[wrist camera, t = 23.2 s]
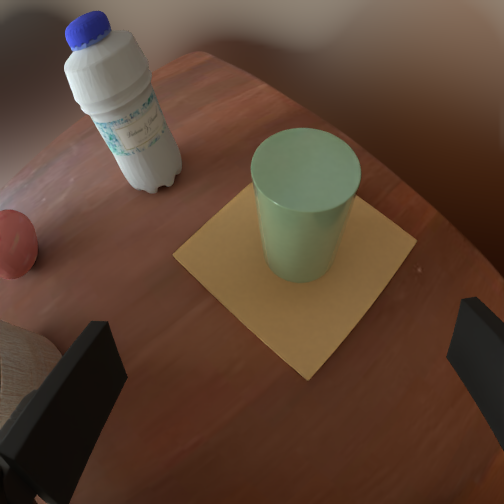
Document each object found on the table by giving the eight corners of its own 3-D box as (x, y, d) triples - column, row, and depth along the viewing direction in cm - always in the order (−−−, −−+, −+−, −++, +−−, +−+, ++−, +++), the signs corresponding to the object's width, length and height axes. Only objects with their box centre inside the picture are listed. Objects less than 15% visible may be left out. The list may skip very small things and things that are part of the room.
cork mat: (173, 256, 29) (171, 254, 28) (288, 153, 33) (288, 150, 32) (307, 381, 23) (308, 380, 23) (415, 243, 27) (417, 240, 27)
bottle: (151, 211, 31) (53, 45, 13) (120, 180, 34) (34, 37, 16) (200, 170, 33) (141, -5, 15) (164, 144, 35) (104, -5, 17)
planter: (-2, 348, 26) (-63, 325, 17) (62, 322, 27) (-4, 289, 18) (16, 442, 22) (-50, 440, 13) (88, 430, 22) (15, 433, 14)
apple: (5, 293, 29) (-41, 267, 22) (12, 239, 32) (-27, 208, 25) (47, 283, 29) (-1, 252, 22) (53, 225, 32) (13, 187, 25)
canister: (247, 251, 28) (227, 169, 18) (295, 204, 30) (297, 114, 20) (303, 298, 26) (316, 234, 16) (350, 245, 27) (381, 163, 17)
